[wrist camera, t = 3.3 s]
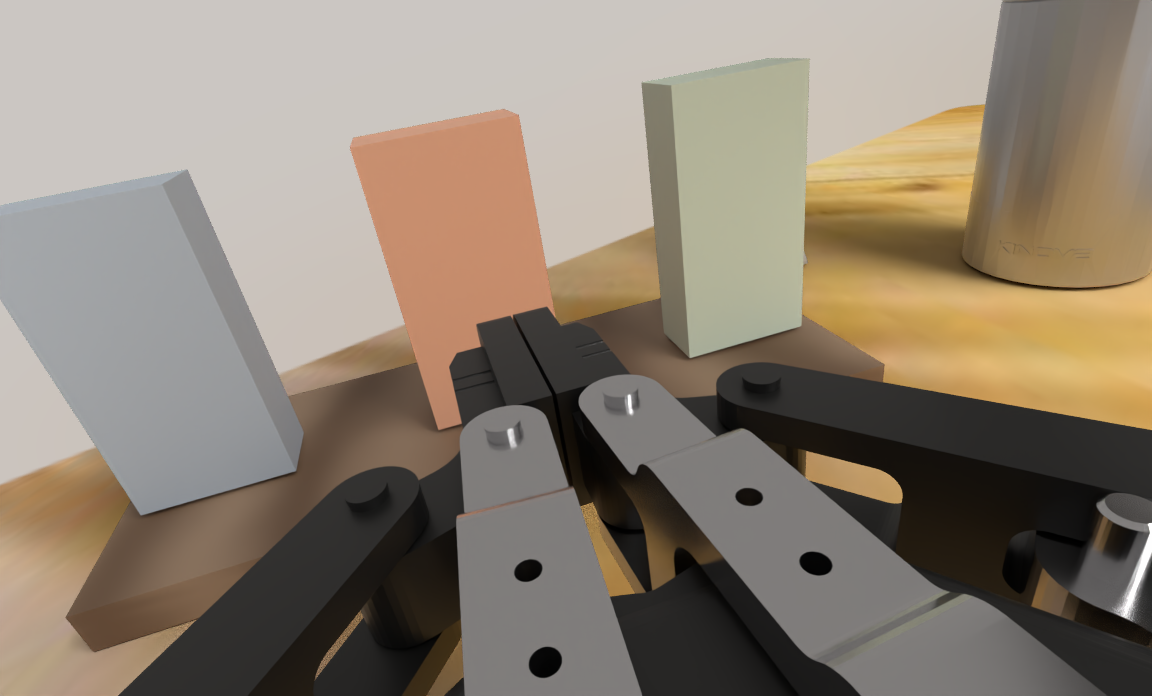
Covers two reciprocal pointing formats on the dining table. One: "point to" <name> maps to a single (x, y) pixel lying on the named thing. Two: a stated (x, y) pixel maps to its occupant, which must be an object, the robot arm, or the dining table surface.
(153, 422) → the slate tab
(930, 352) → the dining table surface
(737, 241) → the sage tab
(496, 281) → the terracotta tab
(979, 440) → the robot arm
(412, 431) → the brown wooden flat board
